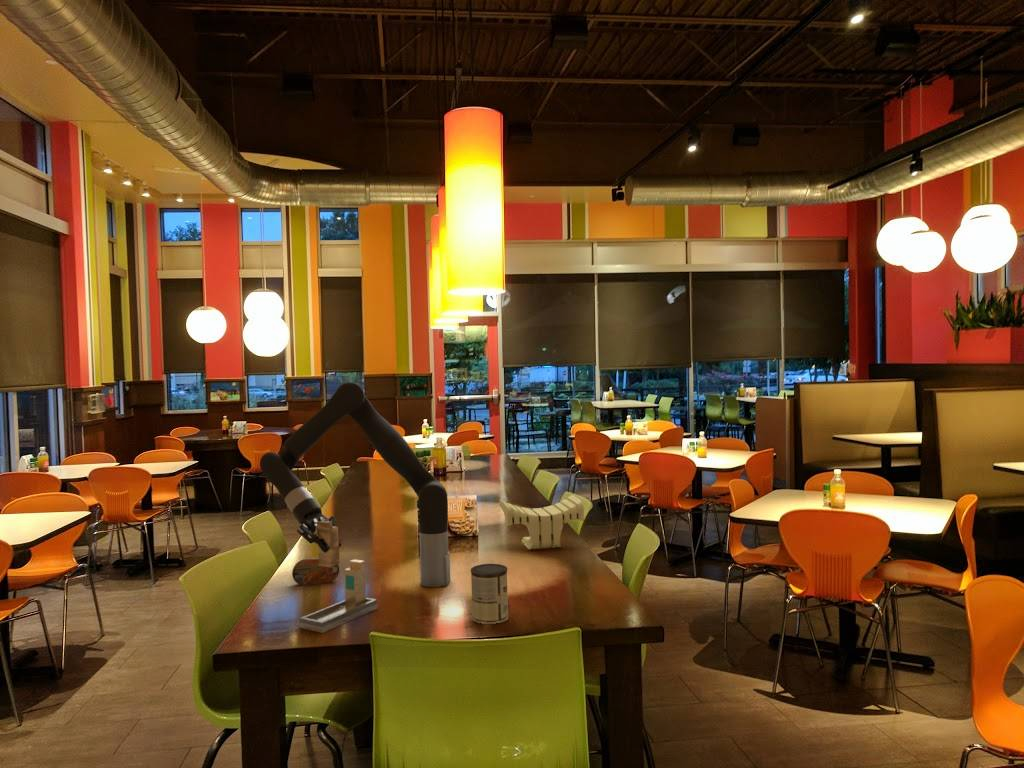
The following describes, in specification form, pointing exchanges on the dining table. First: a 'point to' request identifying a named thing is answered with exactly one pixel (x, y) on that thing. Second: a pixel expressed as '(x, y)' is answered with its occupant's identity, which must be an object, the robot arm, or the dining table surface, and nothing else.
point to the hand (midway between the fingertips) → (333, 548)
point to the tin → (313, 572)
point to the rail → (343, 602)
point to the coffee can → (489, 593)
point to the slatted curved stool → (544, 521)
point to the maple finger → (331, 539)
